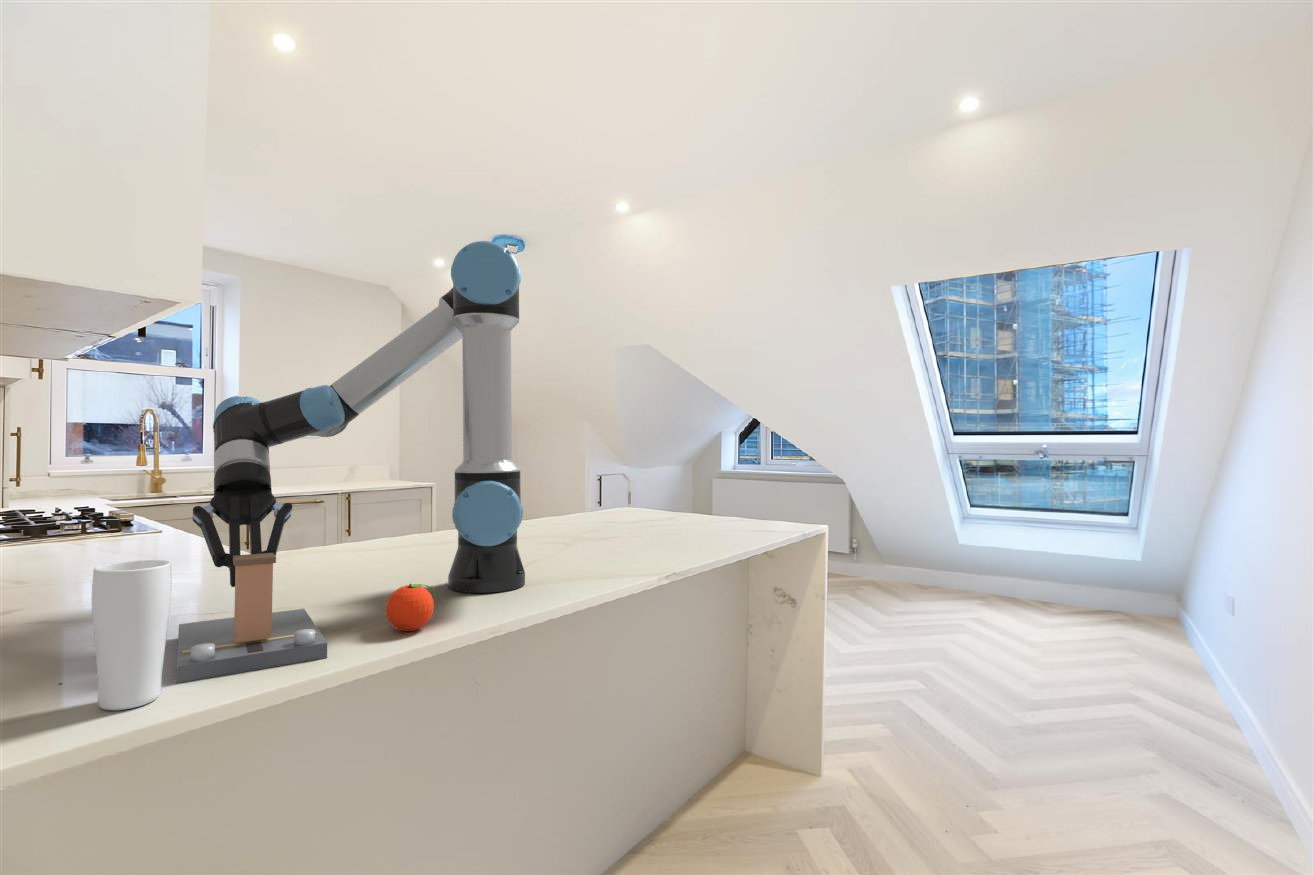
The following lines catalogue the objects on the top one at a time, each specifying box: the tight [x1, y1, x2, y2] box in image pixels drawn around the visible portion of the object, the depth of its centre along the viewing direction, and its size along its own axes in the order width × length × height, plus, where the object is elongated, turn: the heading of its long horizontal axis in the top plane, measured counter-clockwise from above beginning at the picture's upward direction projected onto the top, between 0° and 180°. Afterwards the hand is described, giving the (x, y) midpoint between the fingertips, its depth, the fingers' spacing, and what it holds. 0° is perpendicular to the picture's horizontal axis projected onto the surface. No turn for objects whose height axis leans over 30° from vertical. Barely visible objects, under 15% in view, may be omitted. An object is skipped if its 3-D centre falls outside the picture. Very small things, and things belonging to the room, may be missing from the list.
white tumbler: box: [91, 559, 173, 711], centre depth 69 cm, size 7×7×15 cm
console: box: [176, 608, 328, 684], centre depth 88 cm, size 16×21×4 cm
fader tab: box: [233, 553, 277, 643], centre depth 85 cm, size 5×4×11 cm
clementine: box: [385, 583, 436, 632], centre depth 98 cm, size 8×7×7 cm
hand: (247, 603), depth 87 cm, fingers closed
